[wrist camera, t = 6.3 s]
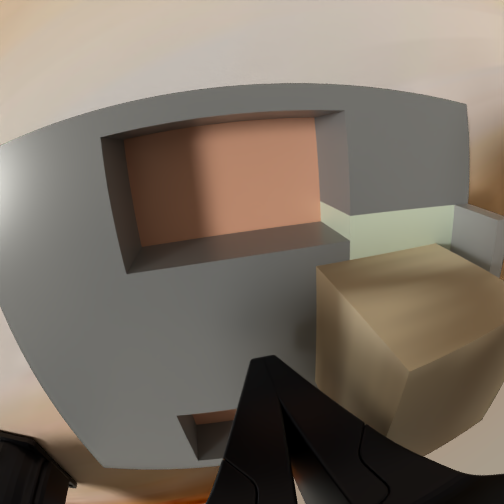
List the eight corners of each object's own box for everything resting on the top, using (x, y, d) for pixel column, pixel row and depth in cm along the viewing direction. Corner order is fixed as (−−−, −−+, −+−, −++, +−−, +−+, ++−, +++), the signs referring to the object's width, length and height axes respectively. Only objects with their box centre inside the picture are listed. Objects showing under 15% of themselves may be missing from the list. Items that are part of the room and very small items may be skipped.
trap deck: (110, 431, 12) (99, 499, 8) (5, 157, 7) (-79, 174, 3) (396, 380, 14) (436, 434, 10) (422, 106, 9) (510, 104, 5)
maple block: (314, 381, 9) (364, 483, 5) (315, 266, 8) (409, 371, 4) (416, 348, 10) (481, 419, 6) (435, 243, 8) (536, 301, 4)
